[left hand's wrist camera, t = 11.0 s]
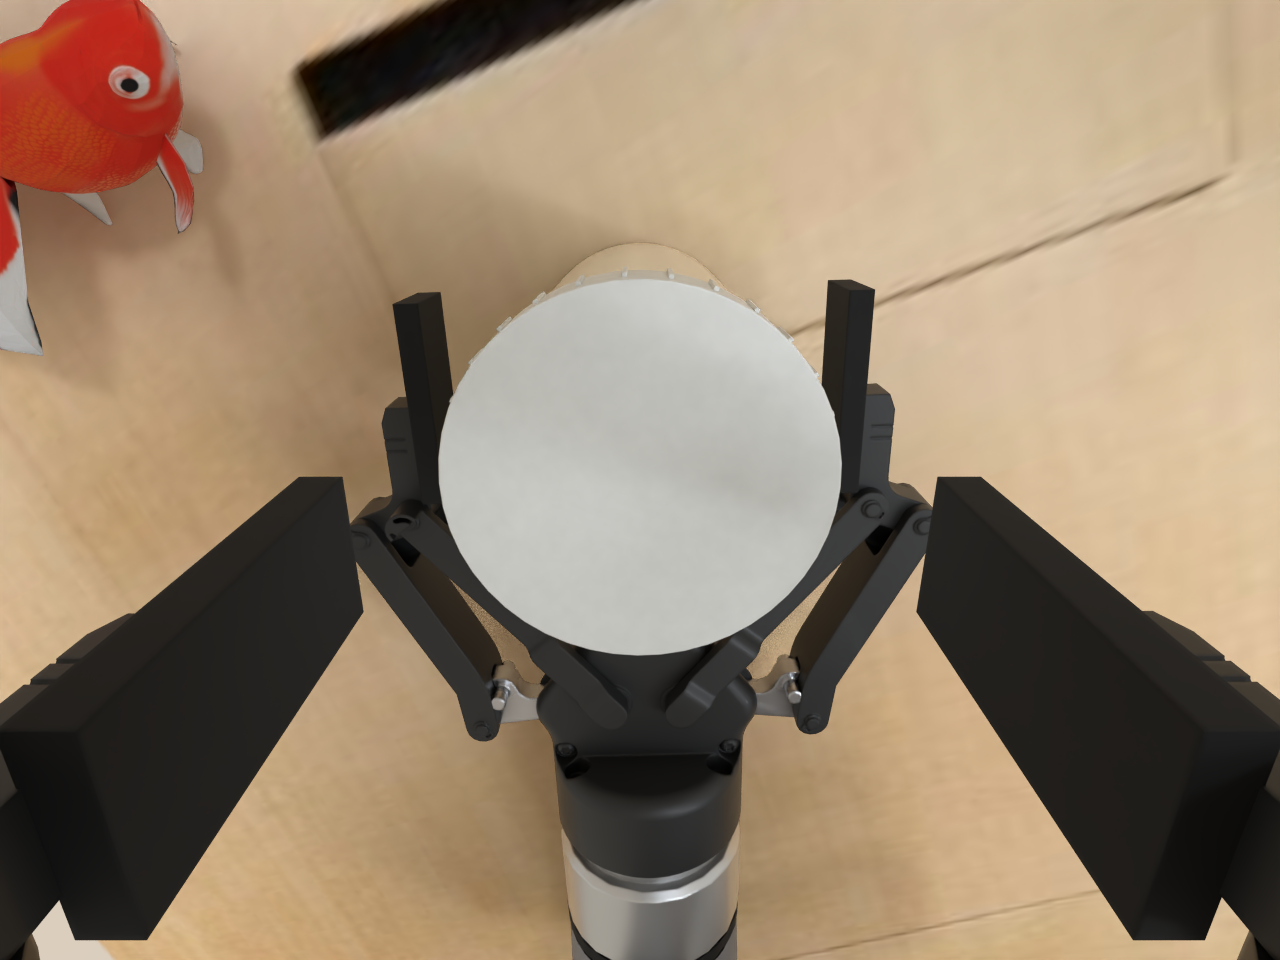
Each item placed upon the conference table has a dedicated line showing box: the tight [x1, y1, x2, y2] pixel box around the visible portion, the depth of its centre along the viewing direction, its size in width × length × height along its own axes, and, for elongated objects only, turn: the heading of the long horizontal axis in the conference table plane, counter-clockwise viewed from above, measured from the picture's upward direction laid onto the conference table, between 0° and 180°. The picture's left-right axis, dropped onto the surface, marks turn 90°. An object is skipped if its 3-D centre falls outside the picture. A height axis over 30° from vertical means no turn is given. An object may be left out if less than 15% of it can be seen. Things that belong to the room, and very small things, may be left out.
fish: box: [0, 0, 203, 356], centre depth 24 cm, size 11×16×10 cm
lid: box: [438, 266, 842, 655], centre depth 17 cm, size 9×9×2 cm
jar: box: [551, 243, 729, 292], centre depth 23 cm, size 8×8×15 cm
